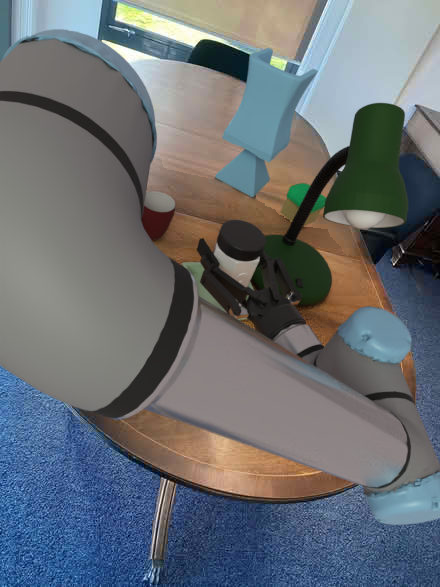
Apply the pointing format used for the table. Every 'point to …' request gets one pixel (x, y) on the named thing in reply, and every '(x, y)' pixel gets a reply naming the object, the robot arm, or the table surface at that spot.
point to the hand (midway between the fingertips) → (222, 241)
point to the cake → (295, 200)
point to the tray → (202, 292)
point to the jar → (239, 249)
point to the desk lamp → (347, 198)
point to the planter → (262, 122)
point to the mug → (157, 213)
